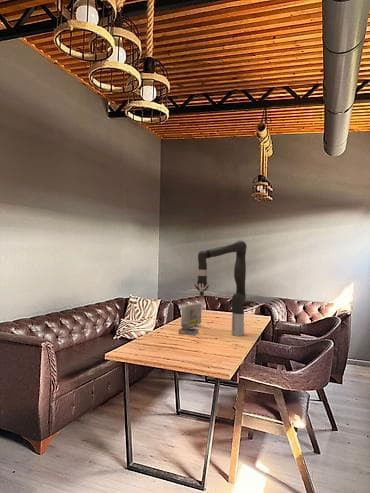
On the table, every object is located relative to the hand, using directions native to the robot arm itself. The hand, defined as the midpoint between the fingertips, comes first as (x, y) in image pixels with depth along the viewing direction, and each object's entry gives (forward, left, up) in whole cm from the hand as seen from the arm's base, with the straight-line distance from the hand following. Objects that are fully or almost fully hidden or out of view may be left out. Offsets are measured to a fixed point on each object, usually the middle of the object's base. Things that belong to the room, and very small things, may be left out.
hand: (201, 296), depth 320 cm
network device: (+12, -10, -29) cm, 33 cm away
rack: (+6, +11, -29) cm, 32 cm away
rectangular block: (+9, +12, -28) cm, 32 cm away
